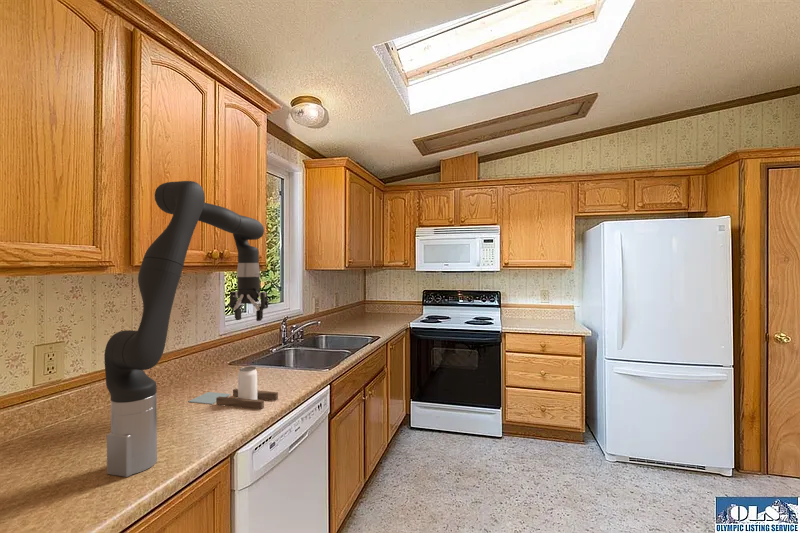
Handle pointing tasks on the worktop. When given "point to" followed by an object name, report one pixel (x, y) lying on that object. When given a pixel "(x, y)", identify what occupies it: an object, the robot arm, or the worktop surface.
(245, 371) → the can
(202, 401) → the pad
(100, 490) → the worktop surface
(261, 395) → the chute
